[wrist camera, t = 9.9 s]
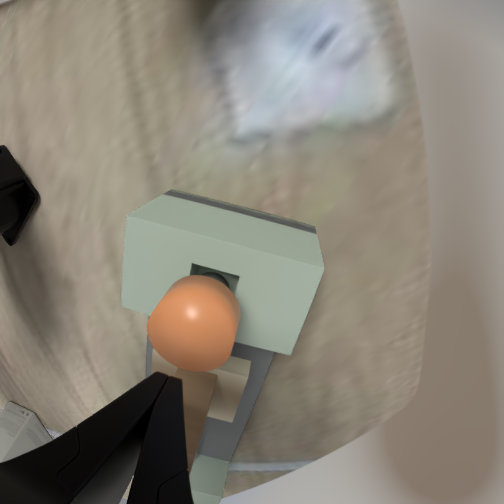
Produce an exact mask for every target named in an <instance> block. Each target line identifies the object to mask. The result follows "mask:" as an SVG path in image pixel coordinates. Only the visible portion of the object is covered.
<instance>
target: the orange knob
mask: <svg viewBox="0 0 504 504" xmlns="http://www.w3.org/2000/svg"><path fill="white" fill-rule="evenodd" d="M240 317H241V311H240V306H239V303H238V300H237V298H236V297H235V295H234V294H233V292H232V291H231V290H230V288H229V284H228V282H227V280H226V279H225V278H224V277H223V276H222V275H220V274H218V273H216V272H206V273H203V274H202V275H191V276H186V277H183V278H181V279H179V280H177V281H176V282H174V283H173V284H172V285H171V287H170V288H169V289H168V291H167V292H166V294H165V295H164V296H163V298H162V299H161V301H160V302H159V304H158V305H157V306H156V308H155V309H154V311H153V312H152V314H151V315H150V317H149V320H148V324H147V332H148V336H149V340H150V342H151V344H152V346H153V347H154V349H155V350H156V351H157V353H158V354H159V355H160V356H161V357H162V358H164V359H165V360H166V361H168V362H169V363H171V364H172V365H174V366H176V367H178V368H181V369H184V370H188V371H193V372H205V371H211V370H214V369H216V368H218V367H220V366H222V365H223V364H224V363H225V362H226V361H227V360H228V358H229V357H230V355H231V352H232V348H233V344H234V341H235V337H236V333H237V329H238V326H239V322H240Z"/></svg>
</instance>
